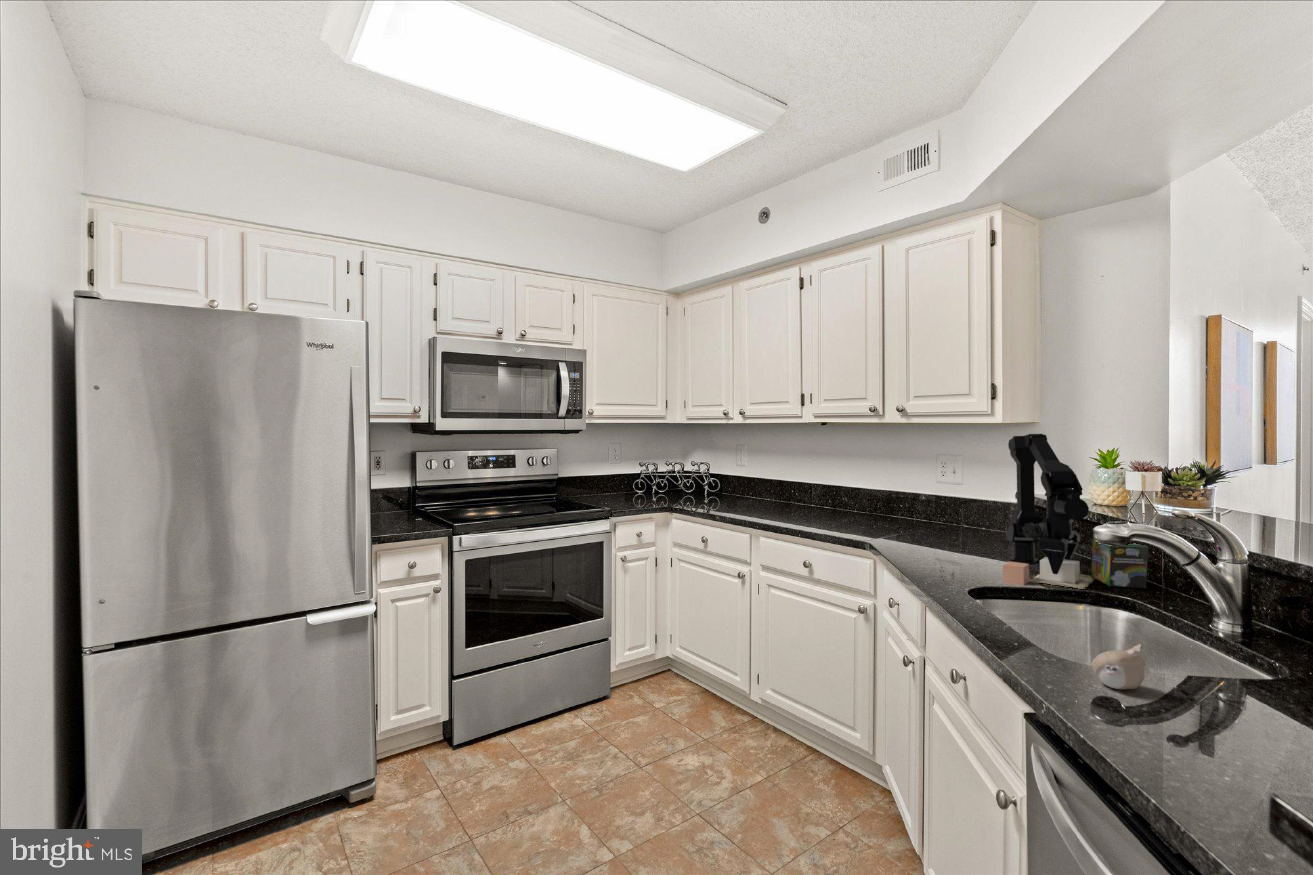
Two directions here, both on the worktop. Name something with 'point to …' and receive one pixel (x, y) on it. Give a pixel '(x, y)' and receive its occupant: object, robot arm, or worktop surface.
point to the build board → (1080, 584)
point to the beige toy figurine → (1120, 668)
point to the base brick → (1061, 571)
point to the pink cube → (1016, 573)
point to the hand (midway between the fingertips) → (1059, 570)
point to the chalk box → (1120, 565)
